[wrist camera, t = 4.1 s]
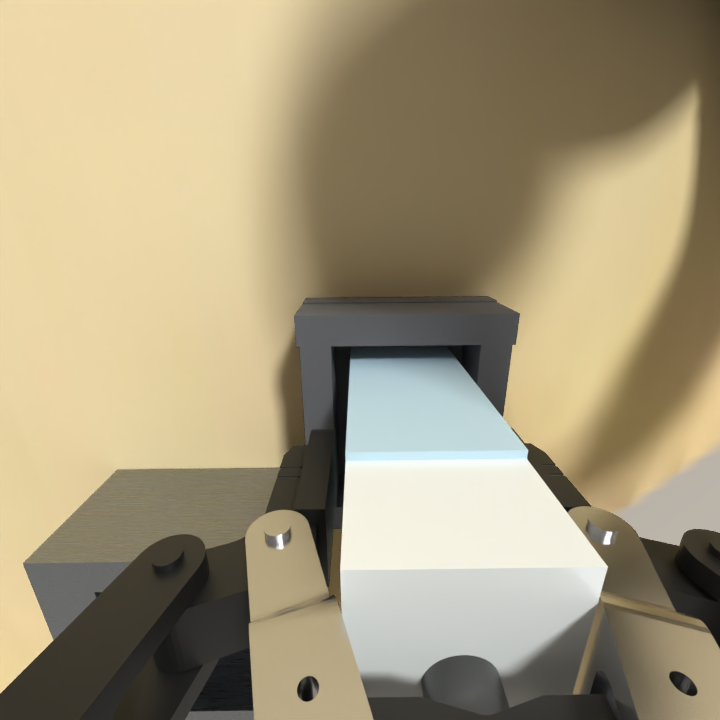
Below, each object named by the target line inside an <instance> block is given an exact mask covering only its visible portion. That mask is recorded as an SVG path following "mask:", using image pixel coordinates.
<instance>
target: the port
mask: <svg viewBox="0 0 720 720" xmlns="http://www.w3.org/2000/svg"><path fill="white" fill-rule="evenodd" d="M279 469H280V468H231V469H147V470H117V471H116V472H115V473H114V474H113V475H112V476H111V477H110V478H109V479H108V480H107V481H106V482H105V483H104V484H103V485H101V486H100V487H99V488H98V489H97V490H96V491H95V492H94V493H93V494H92V495H91V496H90V497H89V498H88V499H87V500H86V501H85V502H84V503H83V504H82V505H81V506H80V507H79V508H78V509H77V510H76V511H75V512H74V513H73V514H72V515H71V516H70V517H69V518H68V519H67V520H66V521H65V522H64V523H63V524H62V525H61V526H60V527H59V528H58V529H57V530H56V531H55V532H54V533H53V534H52V535H51V536H50V537H49V538H48V539H47V540H46V541H45V542H44V543H43V544H42V545H41V546H40V547H39V548H38V549H37V550H36V551H35V552H34V553H33V554H32V555H31V556H30V557H29V558H28V559H27V560H26V561H25V562H24V563H23V565H24V568H25V570H26V573H27V575H28V578H29V580H30V583H31V585H32V588H33V590H34V592H35V595H36V597H37V600H38V602H39V605H40V607H41V610H42V612H43V615H44V617H45V620H46V622H47V625H48V627H49V630H50V632H51V635H52V637H53V640H55V639H56V638H57V637H58V636H59V635H60V634H61V633H62V632H63V631H64V630H65V629H66V628H67V627H68V626H69V625H70V624H71V623H72V622H73V621H74V620H75V619H76V618H77V617H78V616H79V615H80V614H81V613H82V612H83V611H84V610H85V609H86V608H87V607H88V606H89V605H90V604H91V603H92V602H93V601H94V600H95V599H96V598H97V597H98V596H99V595H100V594H101V593H102V592H103V591H104V590H105V589H106V588H107V587H108V586H109V585H110V584H111V583H112V582H113V581H114V580H115V579H116V578H117V577H118V576H119V575H120V574H121V573H122V572H123V571H124V570H125V569H126V568H127V567H128V566H129V565H130V564H131V563H132V562H133V561H134V560H135V559H136V558H137V557H138V556H139V555H140V554H141V553H142V552H143V551H144V550H145V549H146V548H148V547H149V546H150V545H152V544H154V543H155V542H157V541H159V540H161V539H164V538H166V537H169V536H173V535H179V534H189V535H194V536H197V537H198V538H200V539H201V540H202V541H203V543H204V544H205V549H209V548H213V547H216V546H220V545H224V544H228V543H231V542H234V541H237V540H239V539H241V538H243V537H245V536H246V533H247V530H248V528H249V527H250V526H251V524H252V523H253V522H254V521H255V520H257V519H258V518H259V517H261V516H263V515H264V514H265V512H266V509H267V506H268V503H269V500H270V497H271V494H272V491H273V488H274V485H275V482H276V479H277V475H278V472H279ZM185 720H254V709H253V692H252V675H251V659H250V647H249V648H247V649H244V650H241V651H238V652H236V653H233V654H230V655H227V656H225V657H222V658H219V660H218V662H217V664H216V666H215V668H214V669H213V671H212V673H211V675H210V677H209V678H208V680H207V682H206V684H205V685H204V687H203V689H202V691H201V692H200V694H199V696H198V698H197V699H196V701H195V703H194V705H193V706H192V708H191V710H190V712H189V713H188V715H187V717H186V719H185Z"/></svg>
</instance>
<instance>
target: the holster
mask: <svg viewBox="0 0 720 720" xmlns="http://www.w3.org/2000/svg"><path fill="white" fill-rule="evenodd" d="M519 316H520V314H519V313H517V312H515V311H513V310H511V309H509V308H507V307H505V306H503V305H501V304H499V303H497V301H496V300H494V299H492V298H490V297H488V296H463V297H360V298H306V299H305V301H304V302H303V305H302V306H301V307H300V309H299V310H298V311H297V313H296V314H295V315H294V322H295V337H296V347H299V349H300V365H301V380H302V395H303V411H304V426H305V442H306V446H308V442H309V437H310V433H311V430H312V429H335V436H336V466H337V490H336V504H335V516H334V529H342V523H343V503H344V483H345V463H346V458H345V450H346V431H347V412H348V393H349V374H350V355H351V347H429V346H447V347H448V349H449V350H450V351H451V353H452V354H453V355H454V356H455V358H456V359H457V360H458V361H459V363H460V364H461V365H462V367H463V368H464V369H465V370H466V372H467V373H468V374H469V375H470V377H471V378H472V379H473V380H474V382H475V383H476V384H477V386H478V387H479V388H480V389H481V391H482V392H483V393H484V394H485V396H486V397H487V398H488V400H489V401H490V402H491V403H492V405H493V406H494V407H495V408H496V410H497V411H498V412H499V414H500V415H501V416H502V417H503V412H504V405H505V397H506V390H507V382H508V374H509V367H510V359H511V352H512V345H516V338H517V330H518V323H519Z"/></svg>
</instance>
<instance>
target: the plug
mask: <svg viewBox="0 0 720 720" xmlns="http://www.w3.org/2000/svg"><path fill="white" fill-rule="evenodd" d="M527 455H528V449H527V448H526V447H525V445H524V444H523V443H522V441H521V440H520V439H519V438H518V436H517V435H516V434H515V433H514V431H513V430H512V429H511V427H510V426H509V425H508V424H507V422H506V421H505V420H504V419H503V417H502V416H501V415H500V414H499V412H498V411H497V410H496V408H495V407H494V406H493V405H492V403H491V402H490V401H489V400H488V398H487V397H486V396H485V394H484V393H483V392H482V391H481V389H480V388H479V387H478V386H477V384H476V383H475V382H474V380H473V379H472V378H471V377H470V375H469V374H468V373H467V372H466V370H465V369H464V368H463V367H462V365H461V364H460V363H459V361H458V360H457V359H456V358H455V356H454V355H453V354H452V353H451V351H450V350H449V349H448V347H447V346H429V347H351V355H350V374H349V393H348V412H347V431H346V450H345V458H346V463H345V483H344V503H343V523H342V543H341V563H340V580H341V609H342V618H343V621H344V624H345V627H346V631H347V634H348V637H349V641H350V644H351V647H352V650H353V654H354V657H355V660H356V663H357V667H358V670H359V673H360V677H361V680H362V683H363V686H364V690H365V693H366V696H367V697H423V698H426V699H430V700H433V701H436V702H440V703H443V704H447V705H450V706H453V707H457V708H460V709H464V710H467V711H471V712H474V713H477V714H481V715H492V714H495V713H498V712H500V711H503V710H506V709H508V708H511V707H513V706H516V705H519V704H521V703H524V702H527V701H529V700H532V699H534V698H537V697H540V696H542V695H572V694H573V691H574V687H575V684H576V680H577V676H578V673H579V669H580V666H581V662H582V658H583V655H584V651H585V648H586V644H587V640H588V637H589V633H590V630H591V626H592V622H593V619H594V615H595V612H596V608H597V604H598V601H599V597H600V594H601V590H602V586H603V583H604V579H605V576H606V572H607V568H608V566H607V565H606V564H605V562H604V561H603V560H602V558H601V557H600V556H599V554H598V553H597V552H596V550H595V549H594V548H593V546H592V545H591V544H590V542H589V541H588V540H587V538H586V537H585V536H584V534H583V533H582V532H581V530H580V529H579V528H578V526H577V525H576V524H575V522H574V521H573V520H572V518H571V517H570V516H569V514H568V513H567V512H566V510H565V509H564V508H563V506H562V505H561V504H560V502H559V501H558V500H557V498H556V497H555V496H554V494H553V493H552V492H551V490H550V489H549V488H548V486H547V485H546V484H545V482H544V481H543V480H542V478H541V477H540V476H539V474H538V473H537V472H536V470H535V469H534V468H533V466H532V465H531V464H530V462H529V461H528V460H527Z"/></svg>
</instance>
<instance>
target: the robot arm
mask: <svg viewBox="0 0 720 720" xmlns="http://www.w3.org/2000/svg"><path fill="white" fill-rule="evenodd" d="M511 429H512V430H513V431H514V429H513V428H511ZM514 433H515V434H516V435H517V436H518V434H517V433H516V432H515V431H514ZM518 438H519V439H520V440H521V441H522V439H521V438H520V437H519V436H518ZM522 443H523V444H524V445H525V447H526V448H527V449H528V455H527V460H528V461H529V462H530V464H531V465H532V466H533V468H534V469H535V470H536V472H537V473H538V474H539V476H540V477H541V478H542V480H543V481H544V482H545V484H546V485H547V486H548V488H549V489H550V490H551V492H552V493H553V494H554V496H555V497H556V498H557V500H558V501H559V502H560V504H561V505H562V506H563V508H564V509H565V510H566V512H567V513H568V514H569V516H570V517H571V518H572V520H573V521H574V522H575V524H576V525H577V526H578V528H579V529H580V530H581V532H582V533H583V534H584V536H585V537H586V538H587V540H588V541H589V542H590V544H591V545H592V546H593V548H594V549H595V550H596V552H597V553H598V554H599V556H600V557H601V558H602V560H603V561H604V562H605V564H606V565H607V566H608V568H607V572H606V576H605V579H604V583H603V586H602V590H601V594H600V597H599V601H598V604H597V608H596V612H595V615H594V619H593V622H592V626H591V630H590V633H589V637H588V640H587V644H586V648H585V651H584V655H583V658H582V662H581V666H580V669H579V673H578V676H577V680H576V684H575V687H574V691H573V694H572V695H542V696H540V697H537V698H534V699H532V700H529V701H527V702H524V703H521V704H519V705H516V706H513V707H511V708H508V709H506V710H503V711H500V712H498V713H495V714H492V715H481V714H477V713H474V712H471V711H467V710H464V709H460V708H457V707H453V706H450V705H447V704H443V703H440V702H436V701H433V700H430V699H426V698H423V697H367V696H366V693H365V690H364V686H363V683H362V680H361V677H360V673H359V670H358V667H357V663H356V660H355V657H354V654H353V650H352V647H351V644H350V641H349V637H348V634H347V631H346V627H345V624H344V621H343V618H342V614H341V611H340V608H339V605H338V602H337V600H336V598H335V596H334V595H332V596H330V595H329V592H328V588H327V587H329V579H330V566H331V554H332V541H333V529H334V516H335V504H336V490H337V466H336V436H335V429H312V430H311V433H310V437H309V442H308V446H293V447H292V448H291V449H290V450H289V451H288V452H287V453H286V454H285V455H284V457H283V460H282V463H281V466H280V469H279V472H278V475H277V479H276V482H275V485H274V488H273V491H272V494H271V497H270V500H269V503H268V506H267V509H266V512H265V514H264V515H263V516H261V517H259V518H258V519H257V520H255V521H254V522H253V523H252V524H251V526H250V527H249V528H248V530H247V533H246V536H245V537H243V538H241V539H239V540H237V541H234V542H231V543H228V544H224V545H220V546H216V547H213V548H209V549H205V544H204V543H203V541H202V540H201V539H200V538H198V537H197V536H194V535H189V534H179V535H173V536H169V537H166V538H164V539H161V540H159V541H157V542H155V543H154V544H152V545H150V546H149V547H148V548H146V549H145V550H144V551H143V552H142V553H141V554H140V555H139V556H138V557H137V558H136V559H135V560H134V561H133V562H132V563H131V564H130V565H129V566H128V567H127V568H126V569H125V570H124V571H123V572H122V573H121V574H120V575H119V576H118V577H117V578H116V579H115V580H114V581H113V582H112V583H111V584H110V585H109V586H108V587H107V588H106V589H105V590H104V591H103V592H102V593H101V594H100V595H99V596H98V597H97V598H96V599H95V600H94V601H93V602H92V603H91V604H90V605H89V606H88V607H87V608H86V609H85V610H84V611H83V612H82V613H81V614H80V615H79V616H78V617H77V618H76V619H75V620H74V621H73V622H72V623H71V624H70V625H69V626H68V627H67V628H66V629H65V630H64V631H63V632H62V633H61V634H60V635H59V636H58V637H57V638H56V639H55V640H54V641H53V642H52V643H51V644H50V645H49V646H48V647H47V648H46V649H45V650H44V651H43V652H42V653H41V654H40V655H39V656H38V657H37V658H36V659H35V660H34V661H33V662H32V663H31V664H30V665H29V666H28V667H27V668H26V669H25V670H24V671H23V672H22V673H21V674H20V675H19V676H18V677H17V678H16V679H15V680H14V681H13V682H12V683H11V684H10V685H9V686H8V687H7V688H6V689H5V690H4V691H3V692H2V693H1V694H0V720H185V719H186V717H187V715H188V713H189V712H190V710H191V708H192V706H193V705H194V703H195V701H196V699H197V698H198V696H199V694H200V692H201V691H202V689H203V687H204V685H205V684H206V682H207V680H208V678H209V677H210V675H211V673H212V671H213V669H214V668H215V666H216V664H217V662H218V660H219V658H222V657H225V656H227V655H230V654H233V653H236V652H238V651H241V650H244V649H247V648H249V647H250V659H251V675H252V692H253V709H254V720H720V533H718V532H714V531H709V530H702V529H693V530H689V531H687V532H686V533H684V535H683V537H682V540H681V543H680V546H677V545H672V544H667V543H663V542H658V541H654V540H649V539H644V538H641V537H639V536H638V534H637V532H636V531H635V530H634V529H633V528H632V526H630V525H629V524H628V523H627V522H625V521H624V520H623V519H621V518H620V517H618V516H616V515H614V514H613V513H610V512H608V511H605V510H602V509H599V508H595V507H591V506H590V504H589V503H588V502H587V501H586V500H585V498H584V497H583V496H582V495H581V494H580V493H579V491H578V490H577V489H576V488H575V487H574V486H573V484H572V483H571V482H570V481H569V480H568V479H567V477H566V476H563V473H562V472H561V470H560V469H559V468H558V467H556V466H555V463H554V462H553V461H552V460H551V459H550V458H549V456H548V455H547V454H546V453H545V452H543V451H542V450H540V449H539V448H537V447H535V446H534V445H532V444H531V443H524V442H523V441H522Z"/></svg>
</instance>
